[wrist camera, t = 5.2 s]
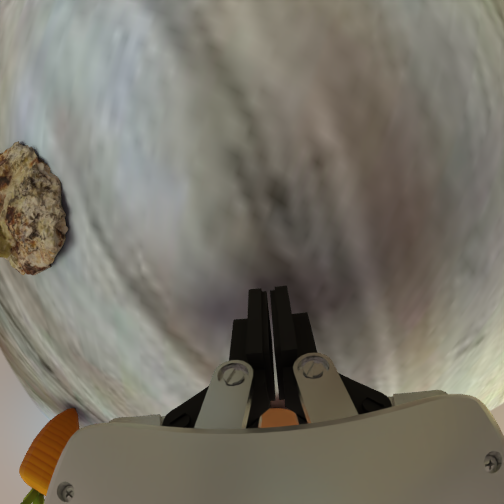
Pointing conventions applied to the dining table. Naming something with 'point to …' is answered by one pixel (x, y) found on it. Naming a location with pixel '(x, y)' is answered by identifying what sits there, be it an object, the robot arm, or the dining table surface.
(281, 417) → the ball
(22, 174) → the mineral rock
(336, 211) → the dining table surface
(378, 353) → the dining table surface
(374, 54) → the dining table surface
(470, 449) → the robot arm
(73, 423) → the carrot
